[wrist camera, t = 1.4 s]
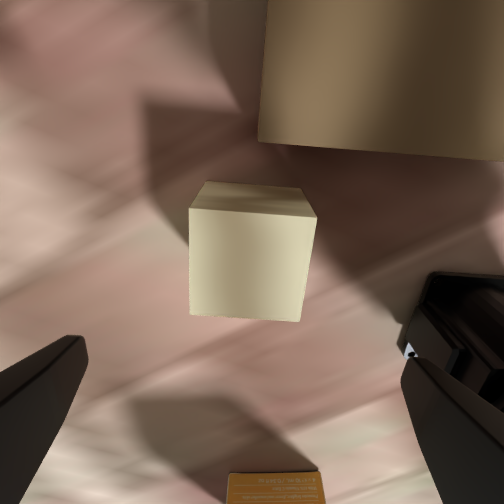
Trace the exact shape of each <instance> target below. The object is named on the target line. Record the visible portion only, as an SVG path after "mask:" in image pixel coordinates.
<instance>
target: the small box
mask: <svg viewBox="0 0 504 504" xmlns="http://www.w3.org/2000/svg"><path fill="white" fill-rule="evenodd" d="M226 504H326V501H325V495H324V490H323V483H322V478H321V473H320V472H302V473H229V476H228V486H227V499H226Z"/></svg>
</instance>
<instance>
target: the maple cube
mask: <svg viewBox="0 0 504 504" xmlns="http://www.w3.org/2000/svg"><path fill="white" fill-rule="evenodd" d="M316 223H317V216H316V215H315V213H314V211H313V209H312V208H311V206H310V204H309V202H308V201H307V199H306V197H305V195H304V194H303V192H302V190H301V188H291V187H279V186H266V185H253V184H240V183H227V182H215V181H206V182H205V184H204V185H203V187H202V188H201V190H200V191H199V193H198V195H197V196H196V198H195V199H194V201H193V202H192V204H191V205H190V207H189V296H190V315H202V316H217V317H232V318H248V319H263V320H278V321H293V322H300V316H301V310H302V304H303V298H304V293H305V287H306V281H307V275H308V269H309V264H310V258H311V252H312V246H313V240H314V235H315V229H316Z"/></svg>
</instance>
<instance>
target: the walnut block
mask: <svg viewBox="0 0 504 504" xmlns="http://www.w3.org/2000/svg"><path fill="white" fill-rule="evenodd" d="M257 137H258V142H265V143H278V144H290V145H302V146H315V147H327V148H339V149H352V150H364V151H377V152H389V153H401V154H414V155H426V156H438V157H451V158H463V159H475V160H488V161H500V162H504V0H268V3H267V16H266V29H265V42H264V54H263V67H262V80H261V93H260V106H259V118H258V131H257Z"/></svg>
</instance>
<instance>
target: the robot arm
mask: <svg viewBox="0 0 504 504" xmlns="http://www.w3.org/2000/svg"><path fill="white" fill-rule="evenodd" d="M437 279H439V281H438V282H435V281H436V280H437ZM434 282H435V283H434ZM405 337H406V339H405V342H404V344H403V347H402V351H401V352H402V354H403V356H404V358H405V359H407V362H406V365H405V368H404V371H403V373H402V376H401V388H402V391H403V395H404V398H405V401H406V405H407V408H408V411H409V415H410V418H411V421H412V425H413V428H414V431H415V434H416V437H417V440H418V443H419V446H420V448H421V451H422V453H423V456H424V458H425V461H426V463H427V466H428V468H429V471H430V473H431V475H432V478H433V480H434V483H435V485H436V488H437V490H438V492H439V495H440V497H441V500H442V502H443V504H504V276H493V275H479V274H465V273H451V272H433V273H431V274H430V275H429V276H428V278H427V280H426V283H425V286H424V288H423V291H422V294H421V297H420V300H419V302H418V305H417V306H416V308H415V310H414V313H413V316H412V319H411V322H410V325H409V327H408V330H407V333H406V336H405ZM409 352H411V353H409ZM87 366H88V353H87V348H86V343H85V339H84V337H83V336H81V335H66V336H64V337H62V338H60V339H58V340H57V341H55V342H53V343H51V344H49V345H48V346H46V347H44V348H42V349H41V350H39V351H37V352H35V353H33V354H32V355H30V356H28V357H26V358H24V359H23V360H21V361H19V362H17V363H16V364H14V365H12V366H10V367H8V368H7V369H5V370H3V371H1V372H0V504H19V503H20V501H21V499H22V498H23V496H24V494H25V492H26V490H27V488H28V487H29V485H30V483H31V481H32V479H33V477H34V476H35V474H36V472H37V470H38V468H39V466H40V465H41V463H42V461H43V459H44V457H45V456H46V454H47V452H48V450H49V448H50V446H51V445H52V443H53V441H54V439H55V437H56V435H57V434H58V432H59V430H60V428H61V426H62V424H63V422H64V420H65V418H66V416H67V413H68V411H69V409H70V406H71V404H72V402H73V399H74V397H75V395H76V392H77V390H78V388H79V385H80V383H81V380H82V378H83V376H84V373H85V371H86V369H87Z"/></svg>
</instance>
